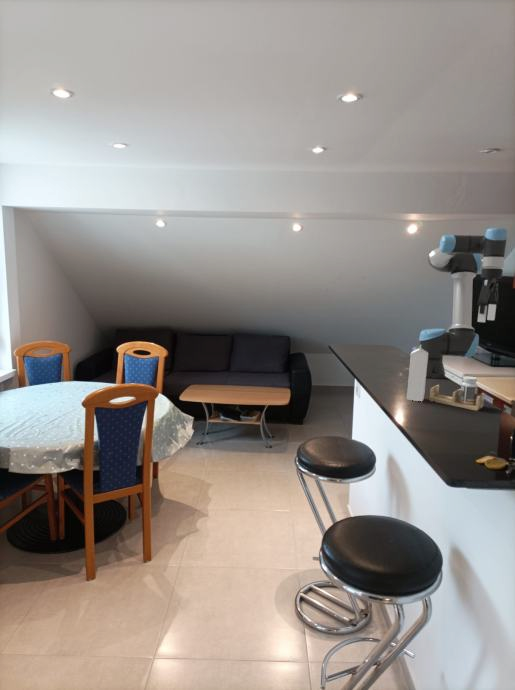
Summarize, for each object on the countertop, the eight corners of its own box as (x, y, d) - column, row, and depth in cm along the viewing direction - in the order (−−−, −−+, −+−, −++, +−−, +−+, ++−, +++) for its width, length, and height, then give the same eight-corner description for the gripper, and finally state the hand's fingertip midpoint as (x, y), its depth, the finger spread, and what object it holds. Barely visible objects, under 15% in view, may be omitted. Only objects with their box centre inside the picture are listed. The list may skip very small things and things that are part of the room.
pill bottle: (477, 402, 174) (480, 377, 172) (473, 405, 170) (476, 380, 168) (461, 399, 178) (464, 375, 176) (457, 402, 173) (460, 377, 172)
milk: (406, 400, 179) (410, 345, 176) (408, 396, 185) (413, 343, 181) (422, 402, 177) (427, 347, 173) (424, 398, 182) (429, 344, 178)
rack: (436, 396, 185) (437, 384, 184) (483, 406, 174) (484, 393, 173) (429, 400, 179) (430, 387, 178) (476, 410, 168) (478, 397, 167)
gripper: (490, 268, 191) (484, 318, 194) (472, 267, 172) (466, 322, 176) (510, 269, 186) (504, 320, 190) (494, 267, 168) (487, 323, 171)
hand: (486, 321), depth 183 cm, fingers open, 13 cm apart
